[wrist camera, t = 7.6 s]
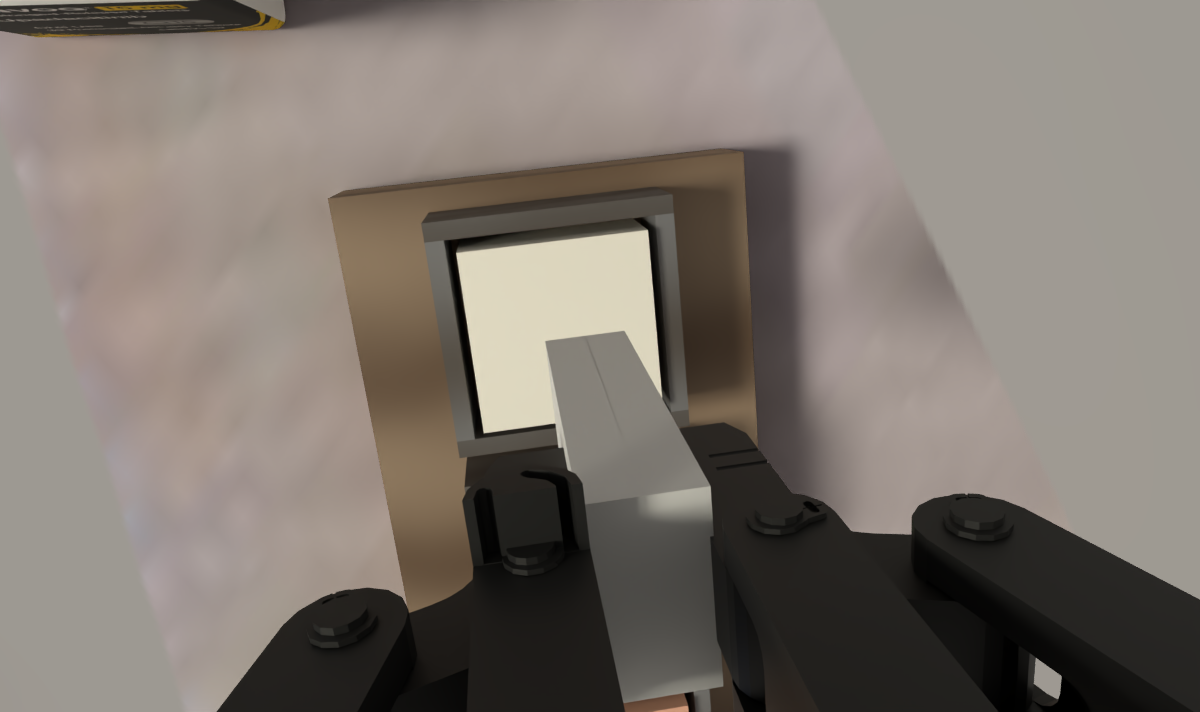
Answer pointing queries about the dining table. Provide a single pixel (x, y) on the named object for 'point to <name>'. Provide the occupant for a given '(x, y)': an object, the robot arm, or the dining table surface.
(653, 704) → the terracotta button
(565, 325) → the cream button
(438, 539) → the button panel
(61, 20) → the medicine bottle
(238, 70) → the dining table surface
